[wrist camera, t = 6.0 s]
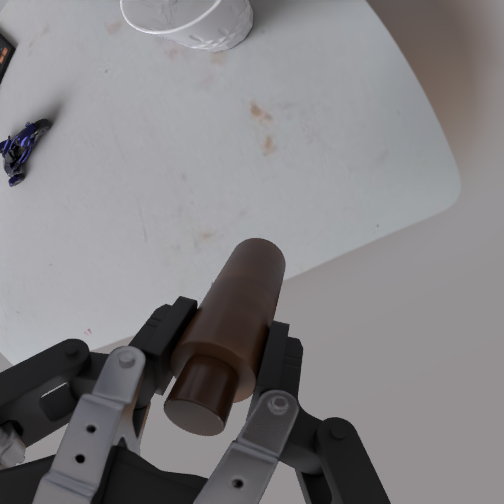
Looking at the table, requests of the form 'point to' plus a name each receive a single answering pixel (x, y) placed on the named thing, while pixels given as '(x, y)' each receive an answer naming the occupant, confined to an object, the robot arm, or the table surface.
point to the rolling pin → (226, 339)
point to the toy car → (21, 149)
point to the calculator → (5, 55)
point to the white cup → (192, 21)
